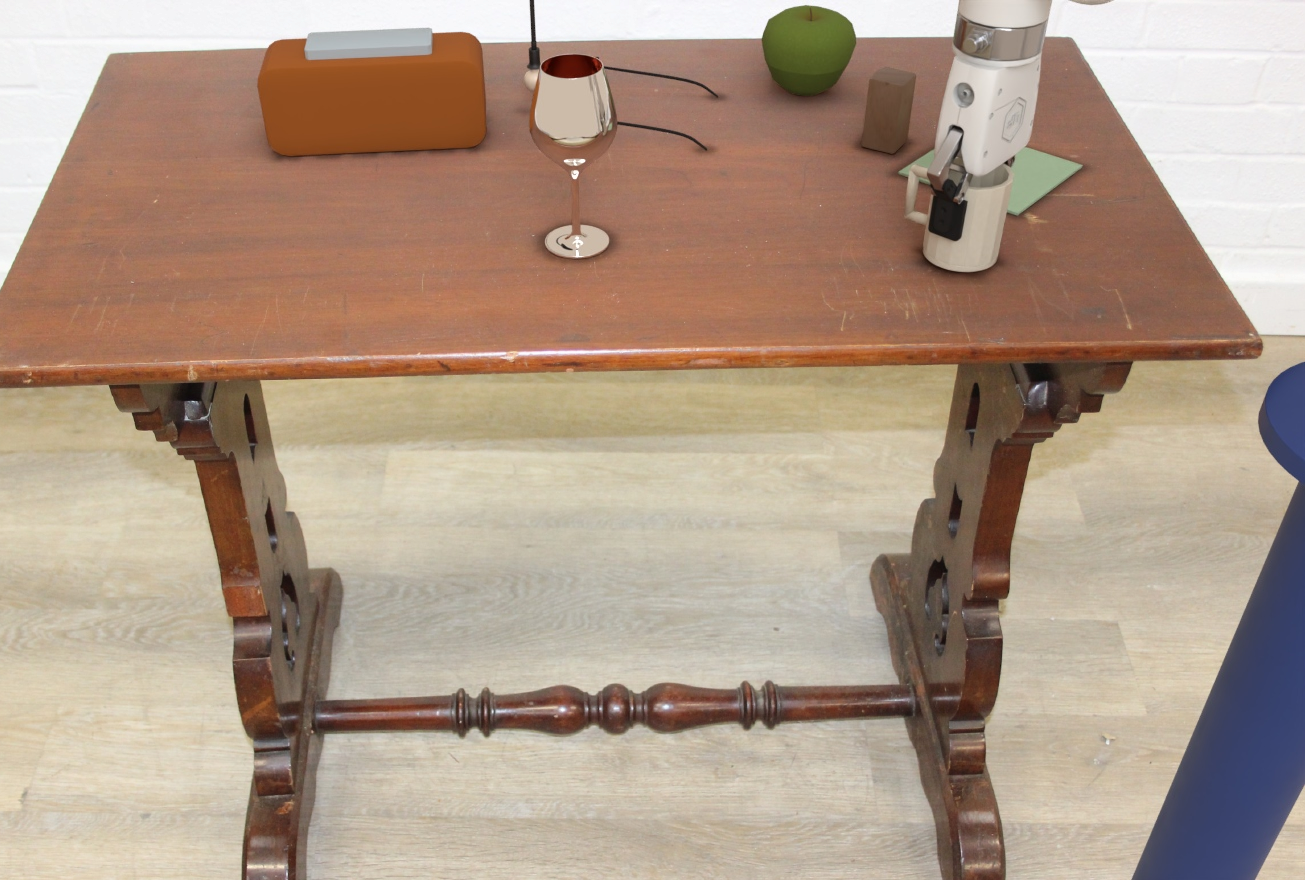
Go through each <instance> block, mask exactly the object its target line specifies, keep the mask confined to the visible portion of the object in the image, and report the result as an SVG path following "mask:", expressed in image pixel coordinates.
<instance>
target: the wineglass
mask: <svg viewBox="0 0 1305 880" xmlns="http://www.w3.org/2000/svg"><path fill="white" fill-rule="evenodd" d="M595 57H596V56H592V55H588V54H584V53H563V54H558V55H554V56H551V57H548V58H546V59H544V60H543V61H541V62H540V63H541V65H540V69H539V73H538V77H537V81H536V86H535V90H534V91H533V94H532V95H533V96H532V100H531V105H530V110H529V119H528V127H529V128H528V129H529V133H530V136H531V139H532V141H533V143H534V145H535V146H536V147H537V149H538V150H539V151H540V152H541V153H542V154H543V155H544V156H545V157H546V158H547V159H548V160H550V161H551V162H553V163H555V164H556V165H557V166H559V167H560V168H562V169H563V170H564V171H565V172H566V173H567V175H568V176H569V178H570V197H571V224H569V225H564V226H561V227H557V228H555V229H553V230H552V231H550V232H549V233H548V234H547V235H546V236H545V239H544V246H545V248H546V250H547V251H548V252H549V253H551V254H552V255H555V256H557V257H560V258H564V259H571V260H572V259H573V260H581V259H587V258H592V257H595V256H598V255H600V254H601V253H603V252H604V251H606V250H607V248H608V247H609V245H610V237H609V235H608V233H606V231H604V230H602V229H601V228H598V227H596V226H594V225H593V226H592V225H587V224H581V210H580V207H581V206H580V202H581V201H580V177H581V175H582V173H583V171H584V170H585V169H587V168H588V167H589V166H590V165H591V164H593V163H594V162H595V161H597V160H599V158H601V157H602V156H603V155H604V154H605V153H606V152H607V151H608V150H609V148H610V147H611V145H612V143H613V142H614V140H615V137H616V135H617V131H618V125H617V121H618V116H617V110H616V104H615V101H614V98H613V94H612V90H611V87H610V83H609V79H608V75H607V72H606V69H604V66H605V65H604V63H603V61H602V60H600V58H599V59H598V58H595Z"/></svg>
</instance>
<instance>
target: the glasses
mask: <svg viewBox="0 0 1305 880" xmlns="http://www.w3.org/2000/svg"><path fill="white" fill-rule="evenodd" d="M594 57H595V58H598V59H599V60H600V57H599V56H594ZM603 66H604V69H605V70H610V71H615V72H622V73H628V74H635V75H642V76H649V77H654V78H655V77H657V78H662V79H669V80H674V81H679V82H684V83H688V84H692V85H696V86H699V87H701V88H702V89H704V90H706V91H707V92H709V94H711V95H712V96H714V97H715V98H719V96H718V94H717V93H715V92H714V91H713V90H711V88H709V87H708V86H706V85H705V84H703V83H701V82H699V81H696V80H692V79H689V78H684V77H680V76H679V77H678V76H673V75H668V74H662V73H654V72H647V71H640V70H633V69H628V68H627V69H626V68H620V67H613V66H605V65H603ZM617 126H622V127H623V126H624V127H631V128H637V129H643V130H649V131H656V132H662V133H666V134H671V135H676V136H680V137H682V138H686V139H688V140H690V141H692V142H693V143H695V144H696V145H697V146H699V147H700V148H702V149H703V150H705V151H708V148H707V147H706V146H705V144H704V145H703V144H702V143H701V142H700V141H698V139H696V138H694V137H693V136H691V135H689V134H686V133H683V132H681V131H676V130H674V129H673V130H672V129H667V128H663V127H657V126H650V125H644V124H638V123H631V122H624V121H618V120H617Z"/></svg>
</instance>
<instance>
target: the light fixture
mask: <svg viewBox="0 0 1305 880" xmlns="http://www.w3.org/2000/svg"><path fill="white" fill-rule="evenodd" d="M535 11H536V9H535V0H529V20H530V39H531V40H530V47H529V48H528V64H527V65H526V68H527V69H528V70H527V71H526V73H525V74H524V76H523V84H524V86H525V88H526V90H529V91H530V92H534V90H535V86H536V81H537V77H538V73H539V69H540V65H541V63H542V62H541V52H540V51H541V50H540V47H538V44H537V43H538V42H537V35H536V34H537V33H536V12H535Z"/></svg>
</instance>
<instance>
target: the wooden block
mask: <svg viewBox="0 0 1305 880" xmlns="http://www.w3.org/2000/svg"><path fill="white" fill-rule="evenodd" d="M916 82H917V73H915V72H912V71H907V70H903V69H899V68H894V67H890V66H889V67H888V66H882V67H881V68H880V69H878V70H877V72H875V73H874V74H873V75H872V76H870V77H869V80H868V85H867V86H868V88H867V95H866V102H865V103H866V104H865V112H864V119H863V126H862V127H863V128H862V136H861V146H862V147H863V148H866V149H870V150H874V151H878V152H882V153H887V154H892V155H893V154H896V152H897V151H899V150H900V149H901V147H902V146H904V144H906V143H907V141H908V136H909V130H910V123H911V117H912V109H913V102H914V96H915V88H916Z"/></svg>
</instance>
